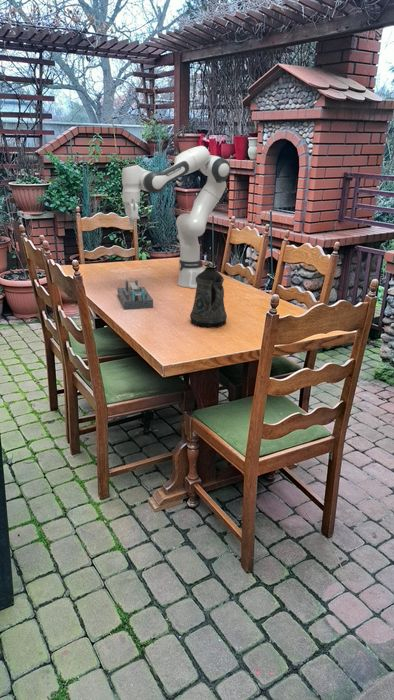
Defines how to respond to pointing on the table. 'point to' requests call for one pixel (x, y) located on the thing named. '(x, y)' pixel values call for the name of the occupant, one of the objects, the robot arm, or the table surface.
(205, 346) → the table surface
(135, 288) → the silver long bar
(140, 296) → the grey mechanical fixture
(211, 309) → the beer stein
